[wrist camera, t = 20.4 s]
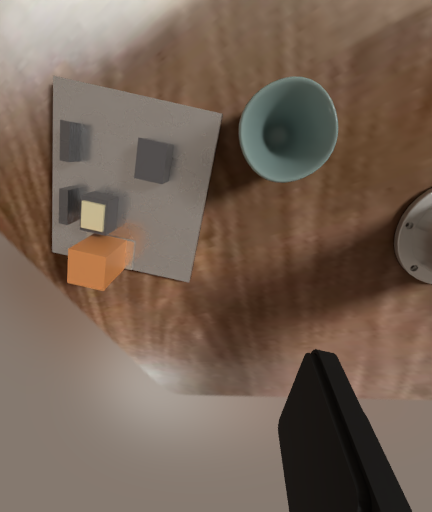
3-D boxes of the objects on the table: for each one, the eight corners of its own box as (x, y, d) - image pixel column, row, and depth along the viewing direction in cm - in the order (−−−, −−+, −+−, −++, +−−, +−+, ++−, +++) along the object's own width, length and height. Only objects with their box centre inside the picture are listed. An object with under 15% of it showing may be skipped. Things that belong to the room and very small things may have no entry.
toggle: (174, 144, 32) (167, 144, 29) (168, 181, 33) (162, 184, 30) (147, 138, 32) (138, 137, 29) (142, 175, 33) (133, 178, 30)
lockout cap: (126, 240, 36) (106, 257, 30) (123, 269, 37) (103, 290, 31) (95, 232, 36) (68, 248, 30) (93, 262, 37) (67, 282, 31)
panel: (222, 115, 32) (220, 111, 28) (190, 277, 39) (185, 291, 35) (61, 79, 32) (38, 69, 28) (59, 248, 39) (40, 258, 35)
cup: (254, 184, 34) (260, 198, 25) (227, 118, 32) (223, 105, 23) (319, 155, 33) (351, 158, 23) (296, 83, 30) (321, 54, 21)
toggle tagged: (119, 196, 34) (106, 201, 31) (116, 228, 36) (104, 236, 32) (94, 191, 34) (79, 195, 31) (92, 223, 35) (77, 231, 32)
